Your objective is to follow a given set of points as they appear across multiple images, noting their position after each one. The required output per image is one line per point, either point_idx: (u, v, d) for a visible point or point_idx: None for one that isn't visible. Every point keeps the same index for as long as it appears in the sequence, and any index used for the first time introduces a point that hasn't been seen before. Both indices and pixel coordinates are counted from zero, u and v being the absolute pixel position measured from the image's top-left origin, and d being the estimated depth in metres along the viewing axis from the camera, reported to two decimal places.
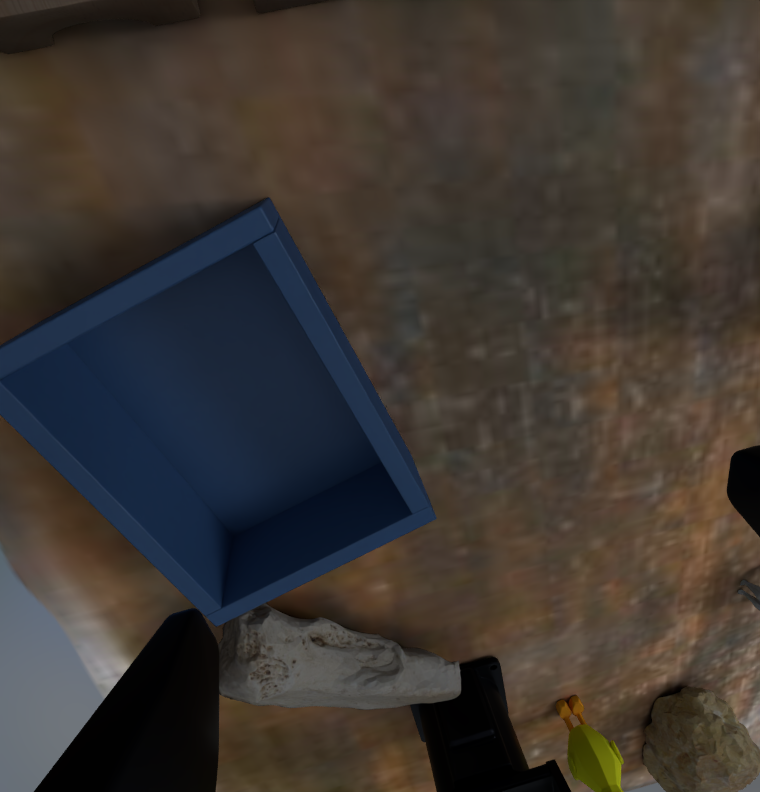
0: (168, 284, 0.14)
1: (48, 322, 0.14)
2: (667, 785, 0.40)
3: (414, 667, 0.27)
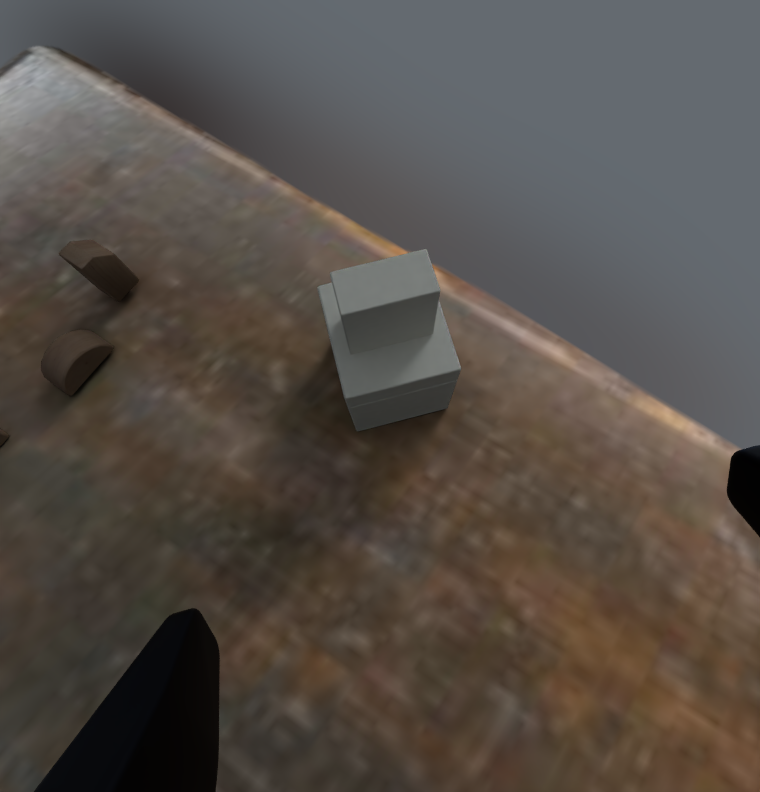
0: None
1: None
2: None
3: None
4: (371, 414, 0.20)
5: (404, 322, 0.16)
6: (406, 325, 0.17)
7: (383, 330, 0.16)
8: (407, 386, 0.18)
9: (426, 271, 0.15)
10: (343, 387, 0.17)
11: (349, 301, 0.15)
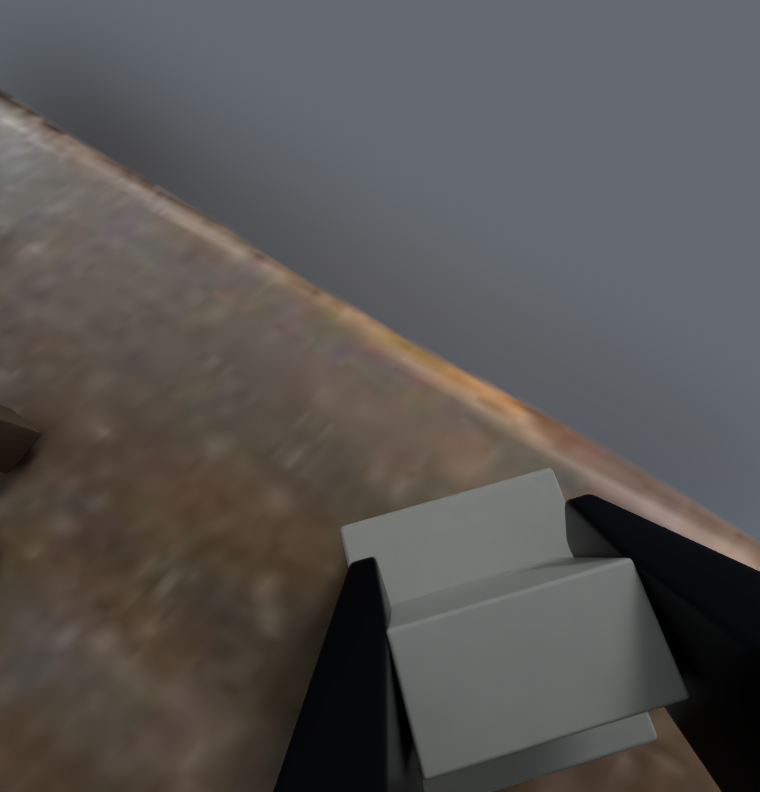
0: None
1: None
2: None
3: None
4: None
5: None
6: None
7: None
8: (540, 768, 0.08)
9: (644, 633, 0.06)
10: None
11: (446, 731, 0.05)
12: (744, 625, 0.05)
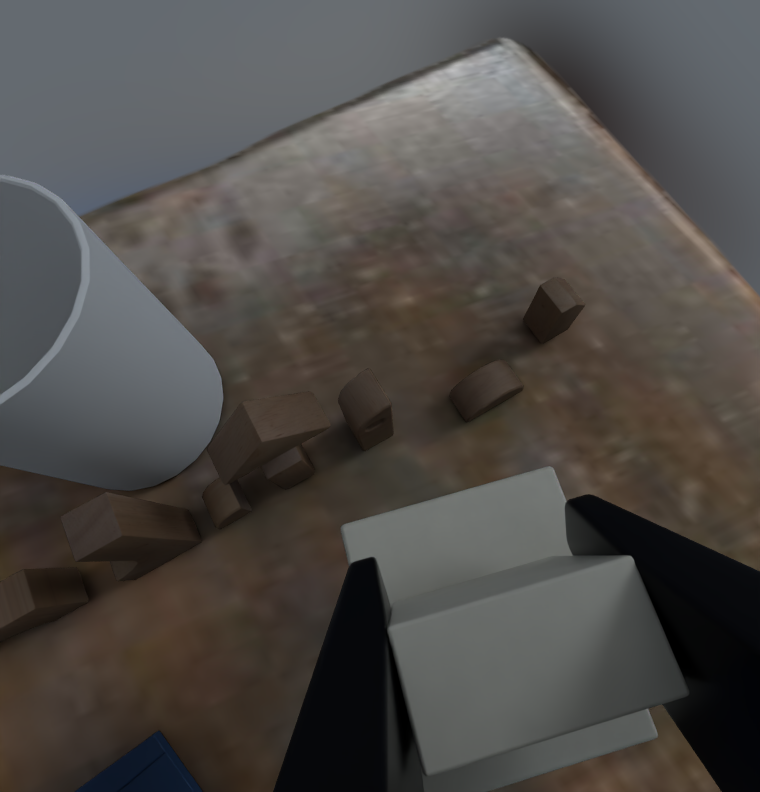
0: None
1: None
2: None
3: None
4: None
5: None
6: None
7: None
8: (540, 767, 0.08)
9: (644, 631, 0.06)
10: None
11: (447, 728, 0.05)
12: (744, 625, 0.05)
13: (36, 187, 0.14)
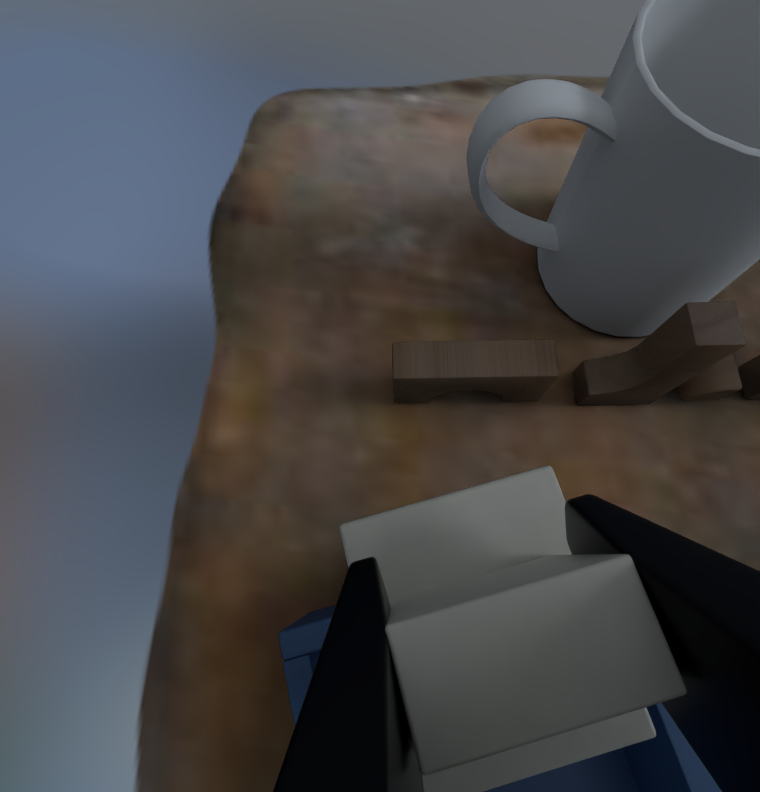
0: None
1: None
2: None
3: None
4: None
5: None
6: None
7: None
8: (539, 765, 0.08)
9: (642, 629, 0.06)
10: None
11: (445, 727, 0.05)
12: (744, 625, 0.05)
13: None
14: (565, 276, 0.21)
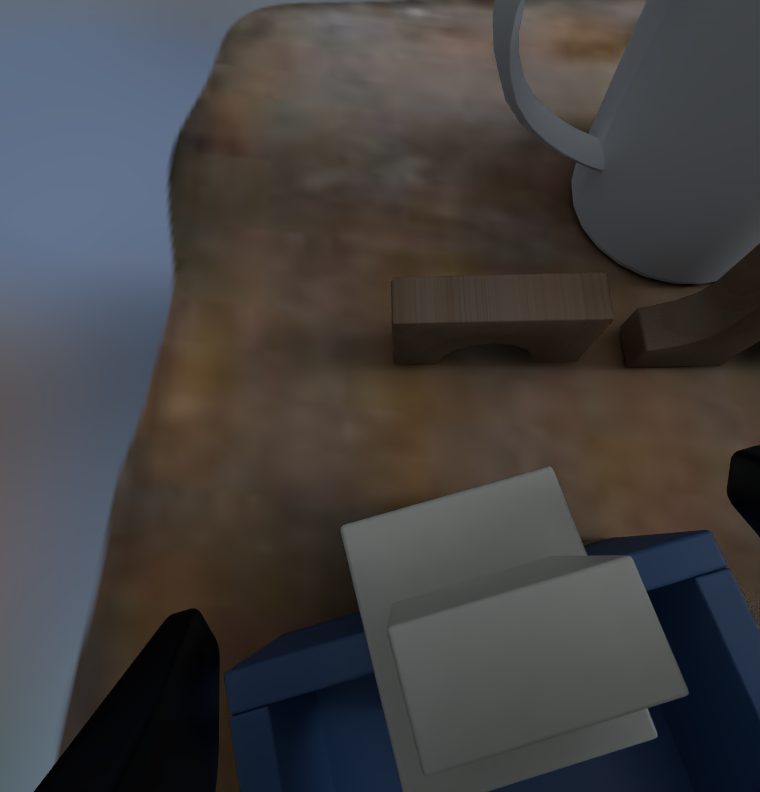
0: None
1: None
2: None
3: None
4: None
5: None
6: None
7: None
8: (541, 767, 0.08)
9: (644, 630, 0.06)
10: (405, 786, 0.08)
11: (446, 728, 0.05)
12: None
13: None
14: (612, 203, 0.16)
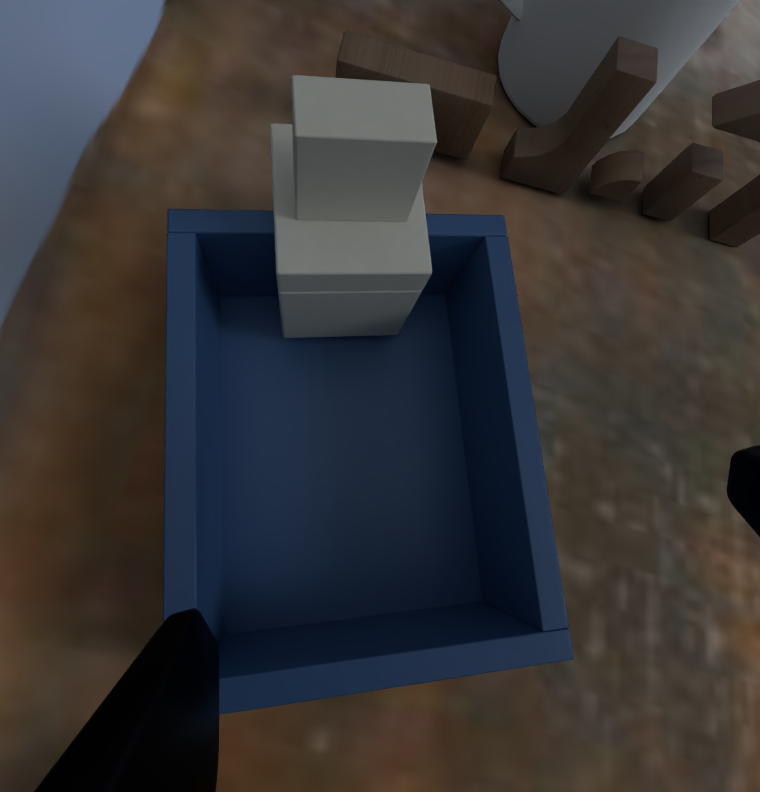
0: None
1: None
2: None
3: None
4: (306, 314, 0.16)
5: (377, 184, 0.12)
6: (378, 192, 0.12)
7: (347, 189, 0.12)
8: (361, 279, 0.14)
9: (424, 111, 0.11)
10: (277, 258, 0.13)
11: (312, 119, 0.10)
12: None
13: None
14: (520, 48, 0.21)
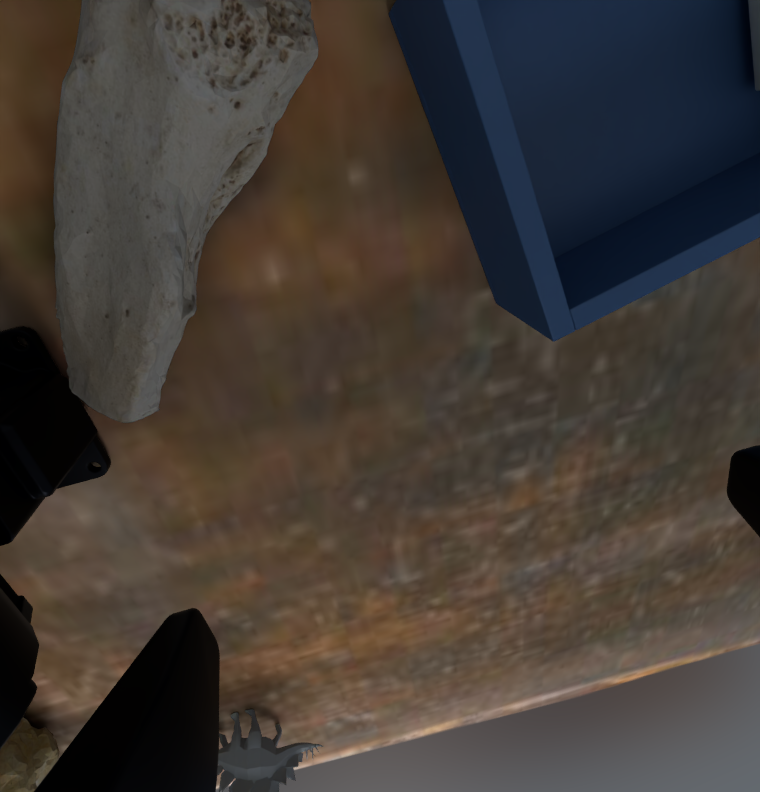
0: None
1: None
2: None
3: (175, 337, 0.16)
4: None
5: None
6: None
7: None
8: None
9: None
10: None
11: None
12: None
13: None
14: None
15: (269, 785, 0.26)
